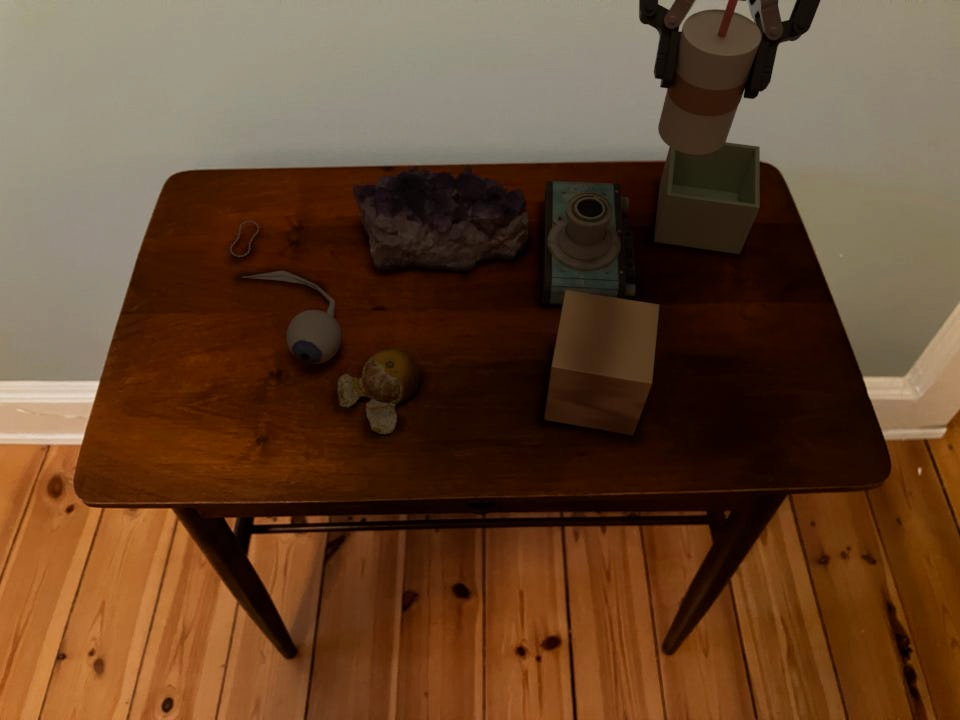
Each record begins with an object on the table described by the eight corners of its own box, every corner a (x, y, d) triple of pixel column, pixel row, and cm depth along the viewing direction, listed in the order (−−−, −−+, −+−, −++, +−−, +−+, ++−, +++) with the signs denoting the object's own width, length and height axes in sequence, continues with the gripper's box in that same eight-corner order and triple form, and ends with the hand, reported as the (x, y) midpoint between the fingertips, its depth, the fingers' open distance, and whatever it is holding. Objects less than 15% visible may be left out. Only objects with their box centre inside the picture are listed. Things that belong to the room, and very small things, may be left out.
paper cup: (728, 113, 62) (780, -42, 51) (727, 159, 59) (782, 5, 48) (659, 105, 63) (696, -51, 52) (655, 150, 60) (693, -5, 49)
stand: (641, 361, 78) (659, 304, 70) (633, 435, 74) (652, 383, 65) (557, 347, 79) (565, 289, 71) (543, 420, 75) (551, 366, 66)
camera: (549, 140, 83) (638, 144, 83) (544, 202, 91) (625, 205, 91) (548, 251, 74) (648, 255, 74) (542, 308, 82) (632, 312, 82)
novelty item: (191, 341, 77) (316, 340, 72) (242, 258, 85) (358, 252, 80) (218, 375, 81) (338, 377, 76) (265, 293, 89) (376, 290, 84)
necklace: (226, 255, 87) (225, 252, 86) (244, 220, 89) (243, 217, 88) (246, 259, 86) (245, 257, 86) (263, 224, 89) (262, 222, 88)
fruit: (327, 393, 76) (321, 375, 73) (385, 344, 80) (381, 324, 77) (383, 441, 73) (379, 423, 70) (441, 387, 77) (439, 368, 74)
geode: (524, 200, 92) (533, 144, 83) (529, 280, 87) (538, 230, 78) (360, 199, 91) (350, 142, 82) (354, 279, 86) (343, 228, 77)
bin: (740, 194, 92) (759, 146, 85) (739, 254, 86) (759, 207, 80) (659, 183, 93) (672, 135, 87) (653, 241, 88) (666, 194, 81)
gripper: (658, -197, 49) (613, 71, 53) (884, -179, 47) (822, 96, 51) (649, -144, 56) (610, 88, 60) (844, -127, 55) (792, 110, 58)
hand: (708, 90), depth 55 cm, fingers closed on paper cup, 5 cm apart
